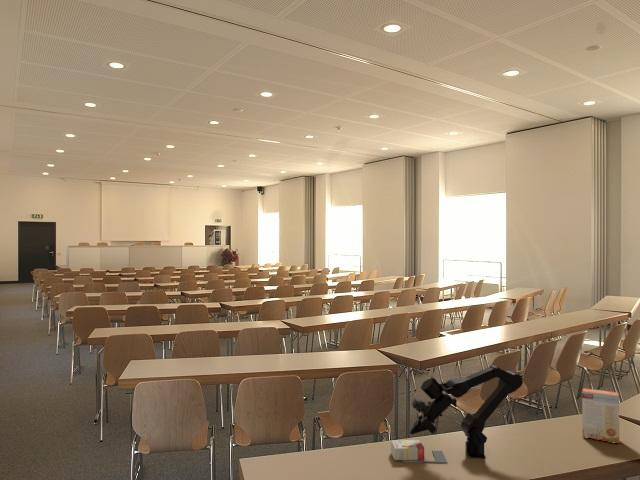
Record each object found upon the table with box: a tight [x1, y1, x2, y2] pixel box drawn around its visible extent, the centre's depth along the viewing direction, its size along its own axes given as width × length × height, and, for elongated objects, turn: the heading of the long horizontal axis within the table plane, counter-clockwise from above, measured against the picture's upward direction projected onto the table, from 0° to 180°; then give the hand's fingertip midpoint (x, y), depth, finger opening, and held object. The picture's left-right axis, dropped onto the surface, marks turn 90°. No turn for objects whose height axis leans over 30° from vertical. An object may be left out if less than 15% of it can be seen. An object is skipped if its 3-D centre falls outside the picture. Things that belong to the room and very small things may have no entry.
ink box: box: [390, 439, 425, 461], centre depth 199 cm, size 9×5×12 cm
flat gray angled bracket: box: [402, 450, 448, 464], centre depth 199 cm, size 17×11×1 cm, turn 87°
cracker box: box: [581, 388, 620, 444], centre depth 218 cm, size 14×6×21 cm, turn 58°
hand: (410, 433), depth 200 cm, fingers closed
